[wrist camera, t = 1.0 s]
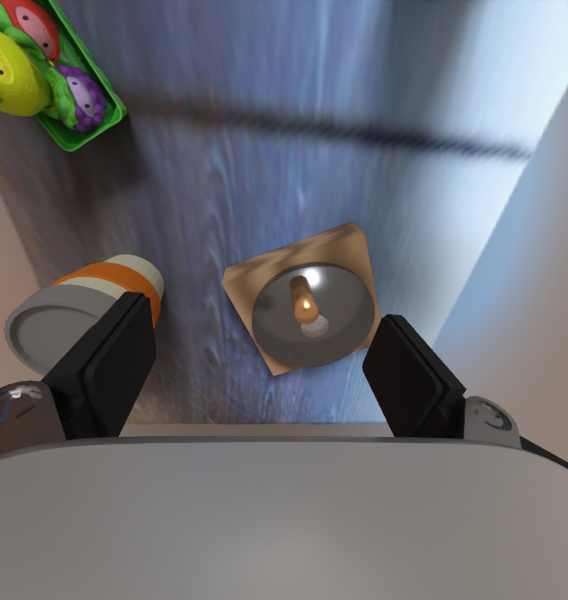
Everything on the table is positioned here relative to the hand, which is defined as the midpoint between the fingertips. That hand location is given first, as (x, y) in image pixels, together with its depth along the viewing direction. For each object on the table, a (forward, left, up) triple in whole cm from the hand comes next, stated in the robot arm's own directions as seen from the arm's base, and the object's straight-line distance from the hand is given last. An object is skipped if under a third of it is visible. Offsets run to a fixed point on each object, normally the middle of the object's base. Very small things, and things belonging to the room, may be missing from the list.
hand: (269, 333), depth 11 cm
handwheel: (-1, +17, -23) cm, 29 cm away
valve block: (-1, +17, -28) cm, 33 cm away
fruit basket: (+14, -18, -29) cm, 37 cm away
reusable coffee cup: (+23, +4, -29) cm, 37 cm away
